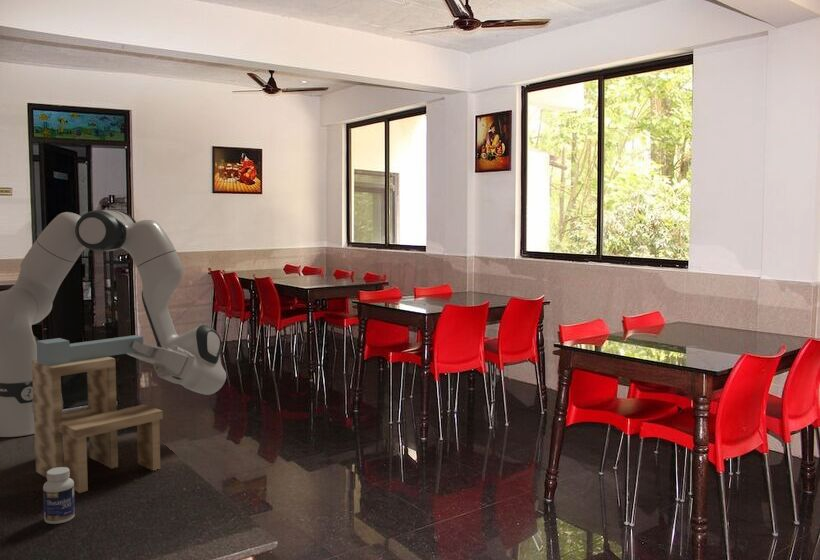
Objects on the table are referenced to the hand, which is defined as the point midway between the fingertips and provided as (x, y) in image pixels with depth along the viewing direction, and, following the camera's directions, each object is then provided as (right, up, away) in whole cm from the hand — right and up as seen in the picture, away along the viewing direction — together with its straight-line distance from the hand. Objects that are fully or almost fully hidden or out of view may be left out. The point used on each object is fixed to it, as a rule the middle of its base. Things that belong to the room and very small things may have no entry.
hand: (126, 342), depth 167 cm
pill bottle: (0, -32, -33) cm, 46 cm away
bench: (+2, -29, -11) cm, 31 cm away
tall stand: (-9, -29, -7) cm, 31 cm away
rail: (-5, -3, -6) cm, 9 cm away
